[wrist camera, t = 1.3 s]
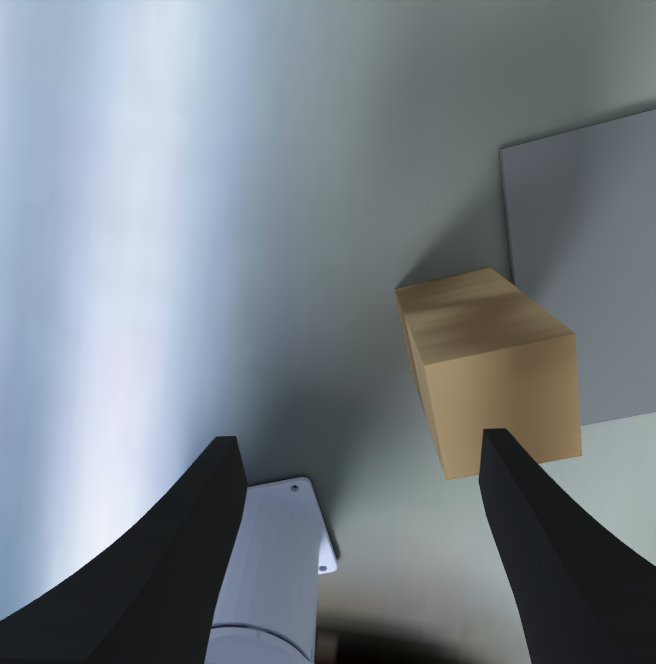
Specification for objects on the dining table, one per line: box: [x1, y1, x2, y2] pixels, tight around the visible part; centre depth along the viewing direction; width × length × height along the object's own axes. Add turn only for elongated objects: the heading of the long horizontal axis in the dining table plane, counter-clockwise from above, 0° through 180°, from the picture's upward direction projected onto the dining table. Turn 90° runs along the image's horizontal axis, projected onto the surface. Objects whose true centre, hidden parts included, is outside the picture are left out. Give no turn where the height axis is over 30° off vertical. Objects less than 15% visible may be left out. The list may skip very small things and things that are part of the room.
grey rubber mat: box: [499, 109, 656, 426], centre depth 23 cm, size 12×16×1 cm
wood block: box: [394, 267, 582, 480], centre depth 20 cm, size 5×5×9 cm
